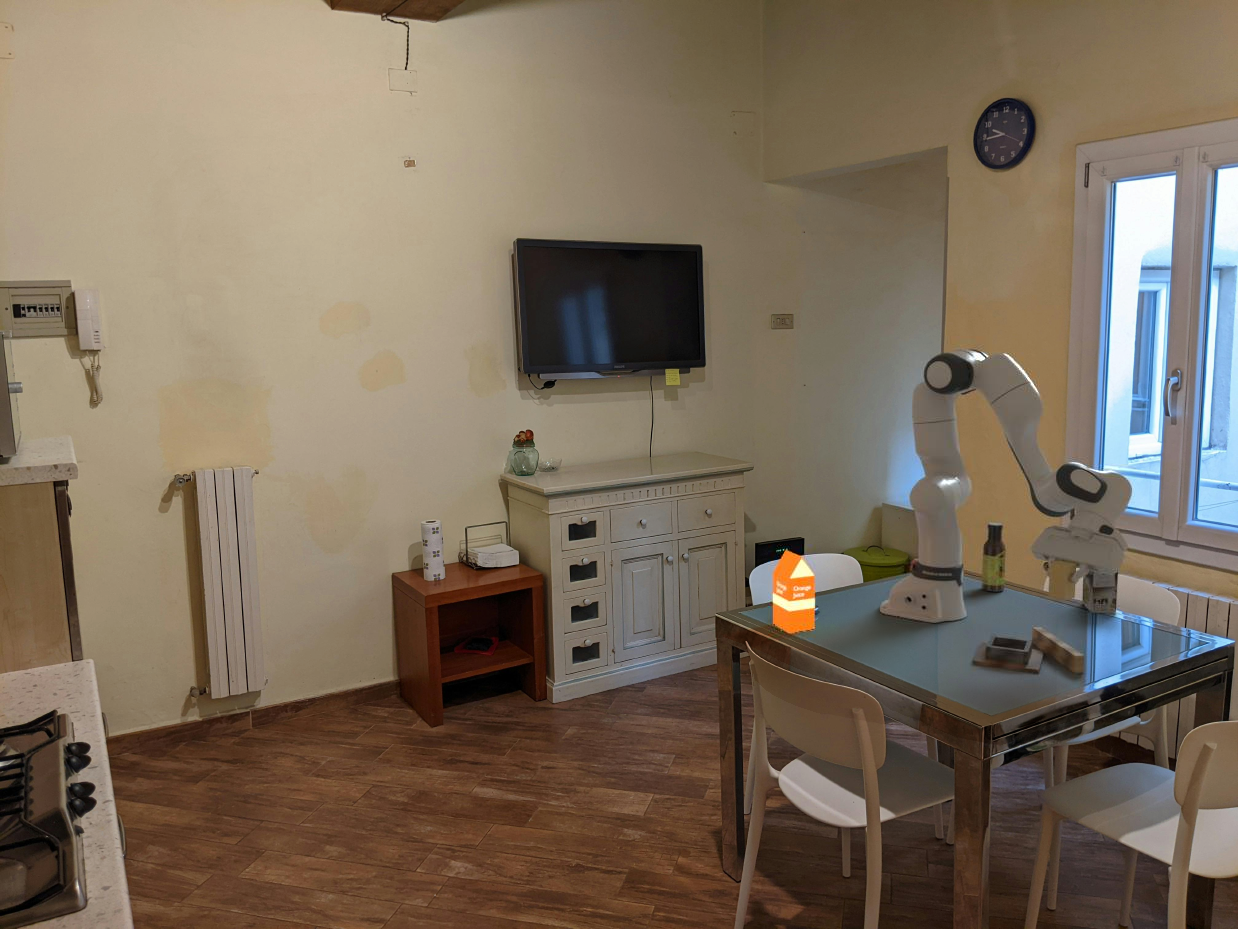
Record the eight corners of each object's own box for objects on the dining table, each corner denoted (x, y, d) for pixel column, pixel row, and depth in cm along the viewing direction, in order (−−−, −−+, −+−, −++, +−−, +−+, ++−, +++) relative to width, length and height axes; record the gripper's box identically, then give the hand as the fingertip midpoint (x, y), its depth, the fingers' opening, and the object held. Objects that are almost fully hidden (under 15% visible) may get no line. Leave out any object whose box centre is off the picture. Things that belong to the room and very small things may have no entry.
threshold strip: (1031, 643, 223) (1032, 627, 223) (1040, 642, 223) (1040, 627, 223) (1074, 672, 203) (1075, 655, 203) (1083, 672, 203) (1084, 655, 203)
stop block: (1048, 596, 212) (1050, 562, 211) (1058, 593, 214) (1060, 560, 213) (1064, 600, 209) (1066, 566, 208) (1074, 597, 211) (1076, 564, 210)
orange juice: (788, 633, 235) (788, 558, 233) (772, 623, 244) (772, 551, 241) (815, 629, 238) (815, 555, 235) (798, 620, 246) (798, 548, 243)
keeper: (972, 664, 211) (972, 648, 210) (981, 645, 223) (981, 630, 222) (1038, 673, 204) (1039, 657, 203) (1044, 653, 216) (1044, 638, 215)
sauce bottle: (1003, 593, 265) (1005, 526, 262) (980, 591, 268) (982, 525, 265) (1005, 588, 270) (1007, 522, 268) (983, 585, 274) (985, 521, 271)
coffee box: (1117, 614, 244) (1120, 555, 241) (1091, 613, 245) (1093, 555, 243) (1106, 604, 252) (1109, 547, 250) (1081, 603, 254) (1083, 547, 251)
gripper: (1042, 516, 222) (1015, 561, 218) (1125, 532, 204) (1097, 581, 201) (1053, 532, 225) (1026, 576, 221) (1135, 548, 207) (1107, 597, 204)
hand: (1060, 579), depth 211 cm, fingers closed on stop block, 4 cm apart
